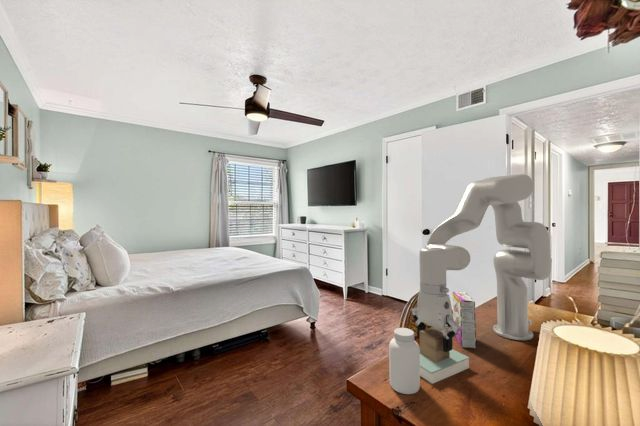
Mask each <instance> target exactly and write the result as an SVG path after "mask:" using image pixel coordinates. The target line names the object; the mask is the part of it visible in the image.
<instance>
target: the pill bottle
mask: <svg viewBox="0 0 640 426" xmlns="http://www.w3.org/2000/svg"><path fill="white" fill-rule="evenodd" d="M388 346H389V347H388V349H389V353H388V355H389V360H388V362H389V368H388V369H389V370H388V371H389V372H388V373H389V385H390V387H391V388H392V390H393V391H396V392H397V393H400V394H402V395H403V394H404V395H413V394H416V393H418V392H419V390H420V388H421V387H420V385H421V377H420V348H419V347H420V344H419V343H418V342H417V341H416V340H415V332H414V330H412V329H410V328H407V327H397V328H395V329H394V331H393V338H392V339H391V340H390V342H389V345H388Z"/></svg>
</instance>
